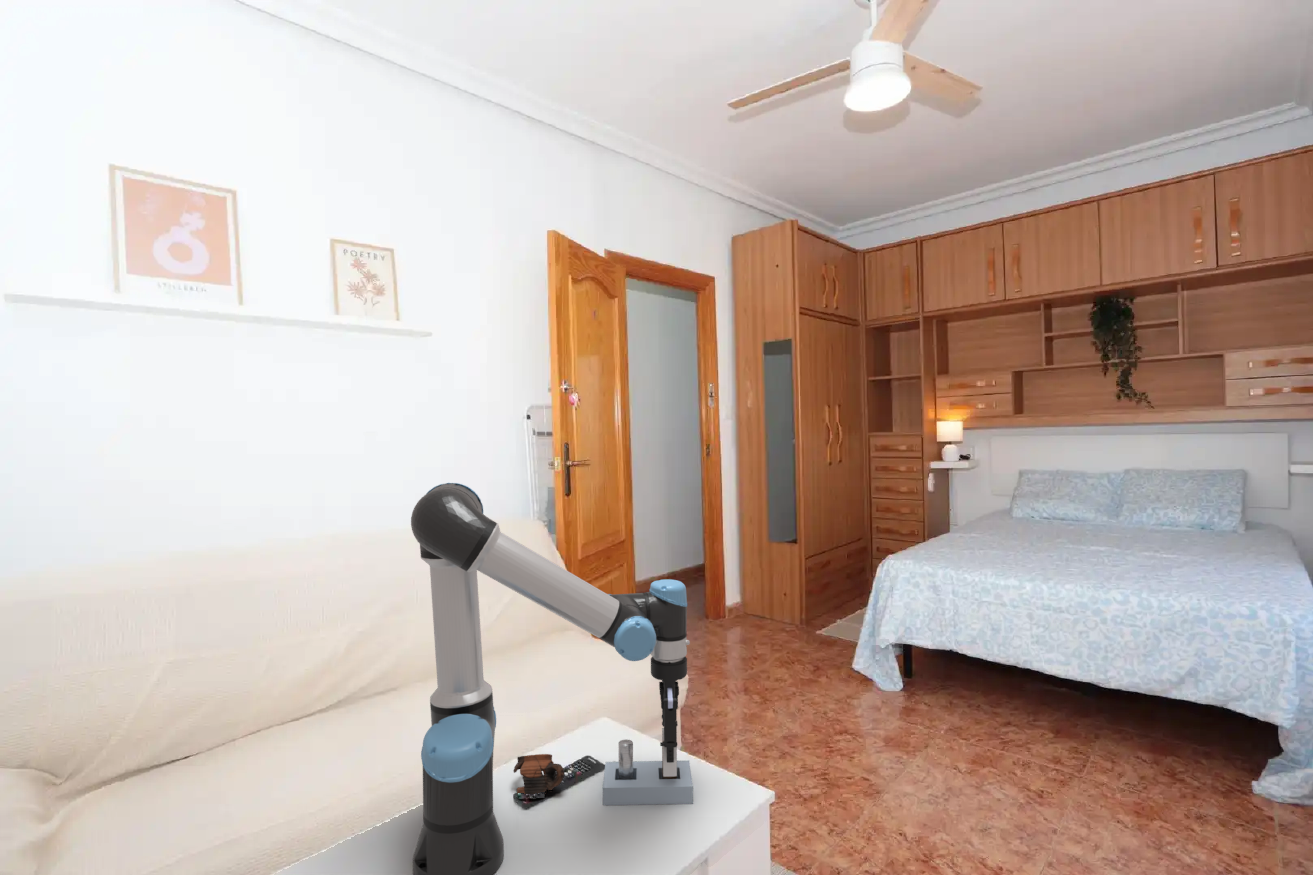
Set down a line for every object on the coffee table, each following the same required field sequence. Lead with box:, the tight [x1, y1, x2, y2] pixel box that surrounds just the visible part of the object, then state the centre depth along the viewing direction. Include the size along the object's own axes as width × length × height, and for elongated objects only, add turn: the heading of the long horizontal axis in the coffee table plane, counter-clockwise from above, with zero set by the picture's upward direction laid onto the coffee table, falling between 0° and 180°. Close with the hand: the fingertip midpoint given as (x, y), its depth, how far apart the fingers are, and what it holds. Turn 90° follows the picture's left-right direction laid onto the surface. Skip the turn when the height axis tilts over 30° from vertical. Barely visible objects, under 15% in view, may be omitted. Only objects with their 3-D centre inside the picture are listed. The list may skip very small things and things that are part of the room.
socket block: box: [602, 759, 694, 806], centre depth 135 cm, size 18×10×4 cm, turn 91°
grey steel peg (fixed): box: [618, 738, 634, 780], centre depth 135 cm, size 3×3×10 cm
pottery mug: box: [512, 753, 565, 795], centre depth 136 cm, size 12×10×8 cm
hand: (669, 766), depth 135 cm, fingers open, 6 cm apart
